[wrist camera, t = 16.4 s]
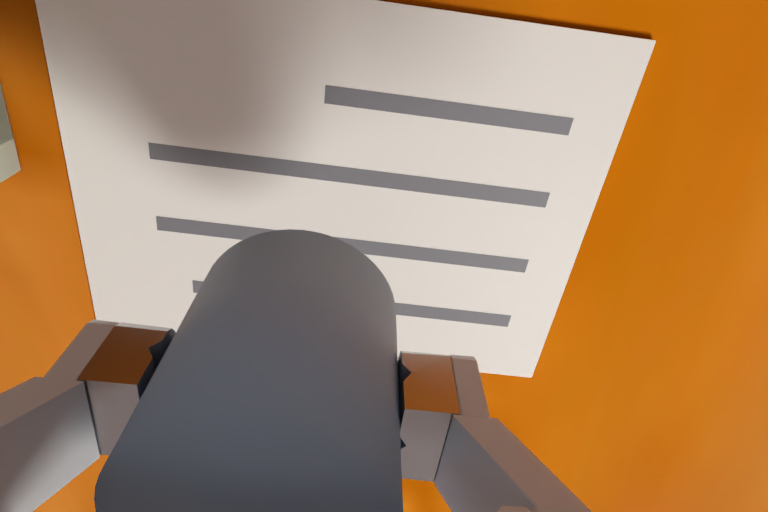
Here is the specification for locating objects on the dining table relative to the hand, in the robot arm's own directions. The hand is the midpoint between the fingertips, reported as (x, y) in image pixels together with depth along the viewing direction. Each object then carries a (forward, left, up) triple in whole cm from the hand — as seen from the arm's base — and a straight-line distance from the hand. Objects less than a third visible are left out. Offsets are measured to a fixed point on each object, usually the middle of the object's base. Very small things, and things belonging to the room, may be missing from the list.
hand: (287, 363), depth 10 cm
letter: (0, 0, -7) cm, 7 cm away
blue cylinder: (0, 0, -2) cm, 2 cm away
